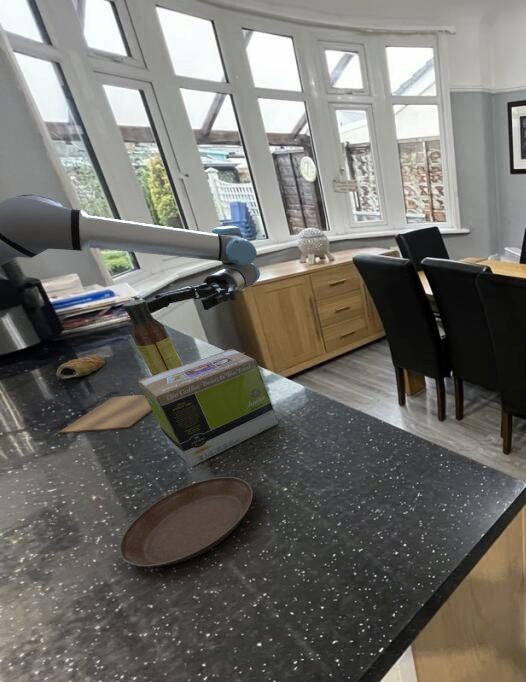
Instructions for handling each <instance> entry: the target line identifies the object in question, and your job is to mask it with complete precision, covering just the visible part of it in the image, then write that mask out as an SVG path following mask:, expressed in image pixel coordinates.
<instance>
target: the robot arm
mask: <svg viewBox="0 0 526 682" xmlns="http://www.w3.org/2000/svg"><path fill="white" fill-rule="evenodd" d="M88 249H99V250H109V251H119V252H129V253H139V254H149V255H158V256H166V257H167V256H168V257H177V258H187V259H197V260H205V261H206V260H207V261H217V262H221V264H222V267H223V269H222V270H219V271H216V272H215V273H213V274H210V275H208V276H206V277H205V278H204V280H203V283H200V284H199V285H195V286H193V285H188V286H184V287H182V288H178V289H174V290H171V291H166V292H162V293H159V294H155V295H154V299H152V300H149V301H146V303H147V304H148V309H149V312H150V313H151V314H153V313H156V312H158V311H160V310H163V309H165V308H169V306H171V304H174V303H175V304H176V303H179V302H183V301H187V300H188V301H189V300H200V302H201V304H202V307H203V309H204V311H208V310H210V309H212V308H214V307H217V306H218V305H219V304H222V303H223V302H228V301H229V300H230V301H236V300H237V294H238V293H240V292H241V291H242V290H244V289H246V288H249V287H251V286H253V285H254V284H255V283H257V282H258V280H259V279H260V276H261V272H260V269H259V267H258V266H257V265H256V264H255V263H253V262H255V260H256V258H257V256H258V255H257V249H256V247H255V245H254V244H253V243H252V242H251V241H250V240H249V239H247V238H244V235H243V234H242V231H241V228H240V227H238V226H236V225H235V226H234V225H230V226H229V225H228V226H219V227H214V228H213V229H212V230H211V233H210V232H202V231H196V230H190V229H184V228H174V227H169V226H162V225H155V224H148V223H141V222H135V221H129V220H128V221H127V220H121V219H114V218H108V217H107V218H106V217H101V216H93V215H89V214H87V213H86V212H85V211H84V210H81V209H75V208H68V207H65V206H64V205H62V204H61V203H60V202H59V201H56V200H54V199H52V198H50V197H47V196H44V195H40V194H31V193H30V194H21V195H20V194H19V195H16V196H13V197H8V198H6V199H4V200H2V201H1V202H0V267H1V266H3V265H5V264H7V263H9V262H11V261H12V260H14V259H16V258H24V259H32V258H34V257H36V256H38V255H40V254H42V253H44V252H45V251H47V250H64V251H76V252H77V251H78V252H85V251H87V250H88Z"/></svg>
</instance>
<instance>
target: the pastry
mask: <svg viewBox="0 0 526 682" xmlns="http://www.w3.org/2000/svg"><path fill="white" fill-rule="evenodd" d="M105 363H106V361H105V359H104V357H103V356H95V355H89V356H87V357H86V356H84V357H79V358H73V359H70V360H68V361H67V362H64V363H62V364H60V365H59V366H58V367H57V370H56V373H55V376H56V377H57V378H60V380H69V379H73V378H81V377H85V376H88V375H90V374H92V372H94V371H98V370H99V369H101V368H102V367H103V366H104V365H105Z"/></svg>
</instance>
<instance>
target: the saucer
mask: <svg viewBox="0 0 526 682" xmlns="http://www.w3.org/2000/svg"><path fill="white" fill-rule="evenodd" d="M253 497H254V492H253V489H252V486H251V485H250V483H249V482H247V481H246V480H244V479H243V478H240V477H235V476H218V477H212V478H211V477H210V478H207V479H203V480H199V481H197V482H193V483H190V484H188V485H185V486H182V487H180V488H179V489H176V490H174V491H173V492H171V493H168V494H166V495H165V496H163V497H162V498H160V499H159V500H157V501H155V502H154V503H153V504H151V505H150V506H149V507H147V508H146V509H145V510H143V511H142V512H141V513H140V514H139V515H138V516H137V517H135V519H134V520H133V521H132V522H131V523H130V525H129V526H128V527H127V528H126V530H125V531H124V532H123V534H122V537H121V538H120V542H119V546H118V554H119V556H120V558H121V560H122V561H124V562H125V563H126V564H129V565H132V566H137V567H144V568H156V567H157V568H158V567H166V566H170V565H171V566H172V565H176V564H179V563H182V562H186V561H188V560H191V559H193V558H197V557H198V556H200V555H202V554H204V553H206V552H207V551H209V550H211V549H212V548H214V547H216V546H217V545H218V544H219V543H221V542H222V541H224V540H225V539H226V538H227V537H228V536H229V535H231V533H232V532H233V531H234V530H235V529H236V528H237V527H238V526H239V525H240V523H241V522H242V521H243V519H244V518H245V516H246V515H247V514H248V511H249V510H250V507H251V505H252V501H253Z"/></svg>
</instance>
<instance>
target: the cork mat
mask: <svg viewBox="0 0 526 682" xmlns="http://www.w3.org/2000/svg"><path fill="white" fill-rule="evenodd" d="M152 412H153V411H152V409H151V407H150V405H149V403H148V401H147V399H146V397H145V395H144V394H135V395H123V396H121V395H120V396H112V397H111V398H109V399H108V400H106V401H105V402H102V404H100V405H98V406H96V407H95V408H94V409H92V410H91V411H89V412H87V413H86V414H84V415H83V416H81V417H80V418H78V419H76V420H75V421H73V422H72V423H70V424H69V425H67V426H65V427H64V428H63V429H61V430H59V431H58V434H70V433H71V434H72V433H85V432H98V431H111V430H113V431H114V430H123V429H130V428H132V427H133V426H134V425H136V424H137V423H138V422H140V421H141V420H143V418H145V417H147V415H149V414H150V413H152Z"/></svg>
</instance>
